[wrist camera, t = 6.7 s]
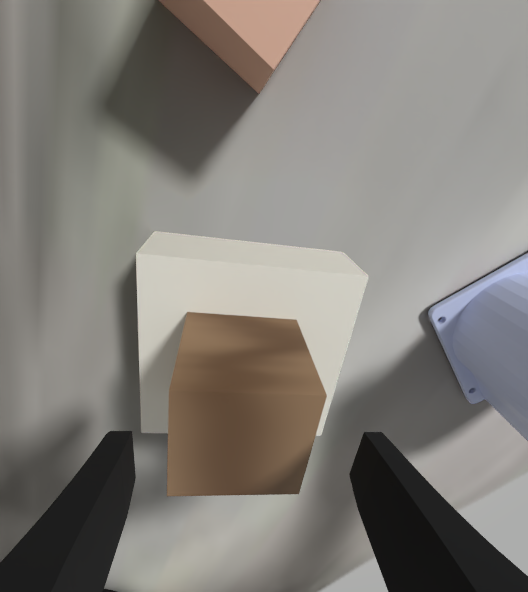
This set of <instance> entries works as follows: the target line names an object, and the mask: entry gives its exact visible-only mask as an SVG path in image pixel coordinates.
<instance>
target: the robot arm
mask: <svg viewBox="0 0 528 592" xmlns="http://www.w3.org/2000/svg"><path fill="white" fill-rule="evenodd" d="M428 316H429V318H430V320H431V323H432V325H433V327H434V329H435V331H436V334H437V336H438V338H439V340H440V342H441V345H442V347H443V349H444V351H445V353H446V356H447V358H448V360H449V362H450V364H451V367H452V369H453V371H454V373H455V375H456V378H457V380H458V382H459V384H460V386H461V389H462V391H463V393H464V395H465V397H466V399H467V400H468V401H469V403H471V404H476V403H478V402H480V401H482V400H484V399H486V400H487V401H488V402H489V403H490V404H491V405H492V406H493V407H494V408H495V409H496V410H497V411H498V412H499V413H500V414H501V415H502V416H503V417H504V418H505V419H506V420H507V421H508V422H509V423H510V424H511V425H512V426H513V427H514V428H515V429H516V430H517V431H518V432H519V433H520V434H521V435H522V436H523V437H524V438H525V439H526V440H527V441H528V253H526V254H525V255H523V256H521V257H519V258H518V259H516V260H514V261H512V262H510V263H509V264H507V265H505V266H503V267H502V268H500V269H498V270H496V271H495V272H493V273H491V274H489V275H487V276H486V277H484V278H482V279H480V280H479V281H477V282H475V283H473V284H471V285H470V286H468V287H466V288H464V289H463V290H461V291H459V292H457V293H455V294H454V295H452V296H450V297H448V298H447V299H445V300H443V301H441V302H440V303H438V304H436V305H434V306H433V307H431V308H430V310H429V312H428ZM440 317H442V318H441V319H440V320H439V321H438V319H439V318H440ZM135 478H136V477H135V464H134V451H133V438H132V431H110V432H108V433H107V434H106V435H105V437H104V438H103V439H102V441H101V442H100V444H99V445H98V446H97V448H96V449H95V450H94V452H93V453H92V454H91V456H90V457H89V458H88V460H87V461H86V462H85V464H84V465H83V466H82V468H81V469H80V470H79V471H78V473H77V474H76V475H75V477H74V478H73V479H72V480H71V482H70V483H69V484H68V485H67V487H66V488H65V489H64V490H63V491H62V493H61V494H60V495H59V496H58V498H57V499H56V500H55V501H54V502H53V504H52V505H51V506H50V507H49V508H48V510H47V511H46V512H45V513H44V514H43V516H42V517H41V518H40V519H39V520H38V521H37V522H36V523H35V525H34V526H33V527H32V528H31V529H30V530H29V531H28V533H27V534H26V535H25V536H24V537H23V538H22V539H21V540H20V542H19V543H18V544H17V545H16V546H15V547H14V548H13V549H12V551H11V552H10V553H9V554H8V555H7V556H6V557H5V558H4V559H3V560H2V561H1V562H0V592H103V589H104V586H105V583H106V580H107V577H108V574H109V571H110V568H111V565H112V562H113V558H114V555H115V552H116V549H117V546H118V543H119V540H120V537H121V534H122V531H123V527H124V524H125V521H126V518H127V514H128V510H129V505H130V501H131V496H132V492H133V487H134V483H135ZM350 479H351V483H352V487H353V491H354V495H355V499H356V503H357V507H358V510H359V513H360V516H361V519H362V521H363V524H364V527H365V530H366V532H367V535H368V538H369V541H370V543H371V546H372V549H373V551H374V554H375V557H376V559H377V562H378V565H379V567H380V570H381V573H382V575H383V578H384V581H385V583H386V586H387V589H388V592H528V576H527V575H526V574H524V573H523V572H522V571H521V570H520V569H519V568H518V567H516V566H515V565H514V564H513V563H512V562H511V561H510V560H508V559H507V558H506V557H505V556H504V555H503V554H501V553H500V552H499V551H498V550H497V549H496V548H495V547H494V546H493V545H492V544H490V543H489V542H488V541H487V540H486V539H485V538H484V537H483V536H482V535H481V534H480V533H479V532H478V531H477V530H475V529H474V528H473V527H472V526H471V525H470V524H469V523H468V522H467V521H466V520H465V519H464V518H463V517H462V516H461V515H460V514H459V513H458V512H457V511H456V510H455V509H454V508H453V507H452V506H451V505H450V504H449V503H448V502H447V501H446V500H445V499H444V498H443V497H442V496H441V495H440V494H439V493H438V492H437V491H436V490H435V489H434V488H433V487H432V486H431V485H430V484H429V482H428V481H427V480H426V479H425V478H424V477H423V476H422V475H421V474H420V473H419V472H418V471H417V470H416V469H415V468H414V466H413V465H412V464H411V463H410V462H409V461H408V460H407V459H406V458H405V457H404V456H403V455H402V453H401V452H400V451H399V450H398V449H397V448H396V447H395V446H394V445H393V444H392V443H391V442H390V440H389V439H388V438H387V437H386V436H385V435H384V434H383V433H382V432H364V434H363V437H362V440H361V443H360V445H359V448H358V451H357V454H356V457H355V460H354V463H353V466H352V469H351V471H350Z"/></svg>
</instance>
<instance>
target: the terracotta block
mask: <svg viewBox="0 0 528 592" xmlns="http://www.w3.org/2000/svg"><path fill="white" fill-rule="evenodd" d="M159 1H160V2H161V3H162V4H163V5H164V6H165V7H166V8H167V9H168V10H169V11H170V12H171V13H173V14H174V15H175V16H176V17H177V18H178V19H179V20H180V21H181V22H182V23H183V24H184V25H185V26H186V27H188V28H189V29H190V30H191V31H192V32H193V33H194V34H195V35H196V36H197V37H198V38H199V39H200V40H202V41H203V42H204V43H205V44H206V45H207V46H208V47H209V48H210V49H211V50H212V51H213V52H214V53H215V54H217V55H218V56H219V57H220V58H221V59H222V60H223V61H224V62H225V63H226V64H227V65H228V66H229V67H231V68H232V69H233V70H234V71H235V72H236V73H237V74H238V75H239V76H240V77H241V78H242V79H243V80H244V81H246V82H247V83H248V84H249V85H250V86H251V87H252V88H253V89H254V90H255V91H256V92H257V93H258V94H259V93H260V92H261V90H262V89H263V87H264V86H265V84H266V83H267V81H268V80H269V78H270V77H271V75H272V74H273V72H274V71H275V69H276V68H277V66H278V65H279V63H280V62H281V60H282V59H283V57H284V56H285V54H286V52H287V51H288V49H289V48H290V46H291V45H292V43H293V42H294V40H295V39H296V37H297V36H298V34H299V33H300V31H301V30H302V28H303V27H304V25H305V24H306V22H307V21H308V19H309V18H310V16H311V15H312V13H313V12H314V10H315V9H316V7H317V6H318V4H319V2H320V1H321V0H159Z"/></svg>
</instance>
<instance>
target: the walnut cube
mask: <svg viewBox="0 0 528 592" xmlns="http://www.w3.org/2000/svg"><path fill="white" fill-rule="evenodd" d="M326 397H327V394H326V392H325V389H324V387H323V384H322V382H321V379H320V377H319V374H318V372H317V369H316V367H315V364H314V362H313V359H312V357H311V354H310V352H309V349H308V347H307V344H306V342H305V340H304V337H303V335H302V332H301V330H300V327H299V325H298V322H297V320H294V319H280V318H266V317H252V316H238V315H224V314H210V313H196V312H187V315H186V320H185V324H184V328H183V332H182V337H181V341H180V345H179V349H178V354H177V358H176V362H175V366H174V371H173V375H172V379H171V383H170V388H169V408H168V462H167V496H211V495H269V494H299V491H300V488H301V484H302V481H303V477H304V474H305V471H306V467H307V464H308V460H309V457H310V453H311V450H312V446H313V443H314V439H315V436H316V432H317V429H318V425H319V422H320V418H321V415H322V411H323V408H324V404H325V401H326Z"/></svg>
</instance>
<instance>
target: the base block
mask: <svg viewBox="0 0 528 592" xmlns="http://www.w3.org/2000/svg"><path fill="white" fill-rule="evenodd" d="M136 272H137V306H138V340H139V374H140V408H141V433H168V408H169V388H170V383H171V379H172V375H173V371H174V366H175V362H176V358H177V354H178V349H179V345H180V341H181V337H182V332H183V328H184V324H185V320H186V315H187V312H196V313H210V314H224V315H238V316H252V317H266V318H280V319H294V320H297V322H298V325H299V327H300V330H301V332H302V335H303V337H304V340H305V342H306V344H307V347H308V349H309V352H310V354H311V357H312V359H313V362H314V364H315V367H316V369H317V372H318V374H319V377H320V379H321V382H322V384H323V387H324V389H325V392H326V394H327V397H326V401H325V404H324V408H323V411H322V415H321V418H320V422H319V425H318V429H317V432H316V436H321V435H322V431H323V428H324V425H325V421H326V418H327V415H328V411H329V408H330V405H331V401H332V398H333V395H334V391H335V388H336V385H337V381H338V378H339V375H340V371H341V368H342V365H343V361H344V358H345V355H346V351H347V348H348V345H349V341H350V338H351V335H352V331H353V328H354V325H355V321H356V318H357V314H358V311H359V308H360V304H361V301H362V298H363V294H364V291H365V288H366V284H367V281H368V278H369V276H368V275H367V274H366V273H365V272H364V271H363V270H362V269H361V268H360V267H358V266H357V265H356V264H355V263H354V262H353V261H352V260H351V259H350V258H349V257H348V256H347V255H346V254H344V253H343V252H339V251H330V250H321V249H312V248H303V247H294V246H285V245H275V244H266V243H257V242H248V241H239V240H230V239H221V238H212V237H203V236H194V235H185V234H176V233H166V232H157V231H154V232H153V234H152V235H151V236H150V237H149V238H148V240H147V241H146V242H145V243H144V244H143V246H142V247H141V248H140V249H139V250H138V251H137V253H136Z"/></svg>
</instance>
